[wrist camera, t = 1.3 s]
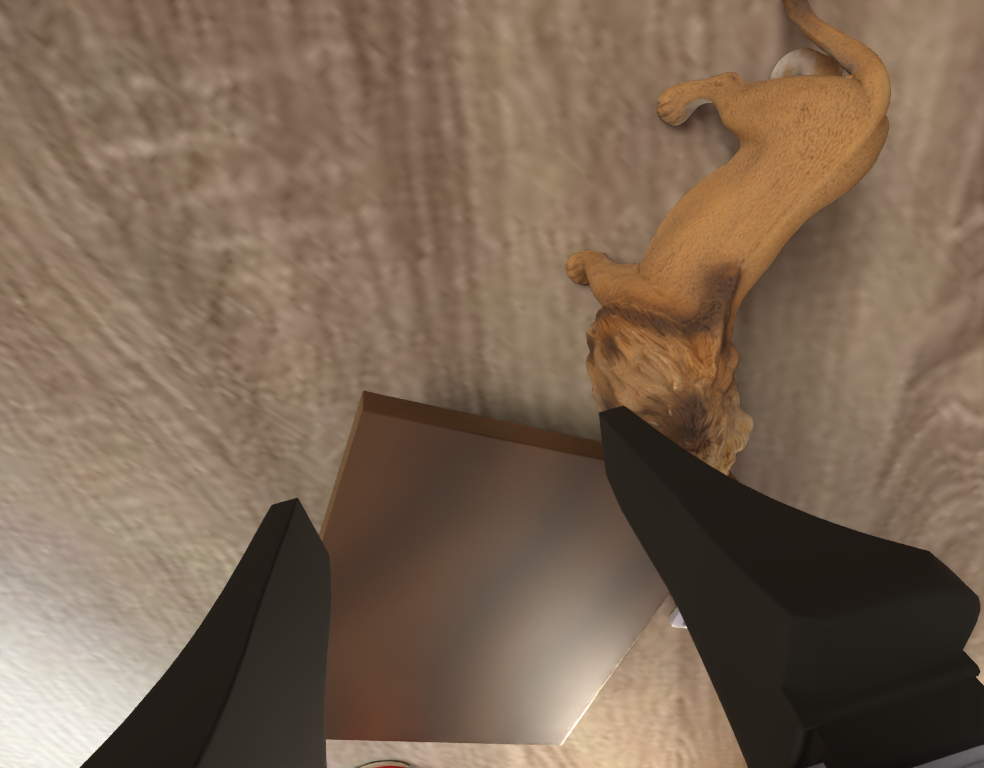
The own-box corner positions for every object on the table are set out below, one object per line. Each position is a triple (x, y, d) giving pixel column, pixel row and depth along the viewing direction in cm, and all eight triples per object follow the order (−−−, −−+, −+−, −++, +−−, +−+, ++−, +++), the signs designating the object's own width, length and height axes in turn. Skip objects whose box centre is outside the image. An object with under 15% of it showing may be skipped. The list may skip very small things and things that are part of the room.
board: (729, 469, 24) (745, 489, 23) (554, 723, 32) (560, 745, 31) (362, 390, 19) (362, 410, 18) (265, 711, 27) (261, 738, 26)
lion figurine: (633, 381, 25) (744, 536, 17) (520, 351, 23) (589, 509, 16) (844, -3, 19) (1166, -22, 11) (709, -82, 17) (980, -169, 9)
